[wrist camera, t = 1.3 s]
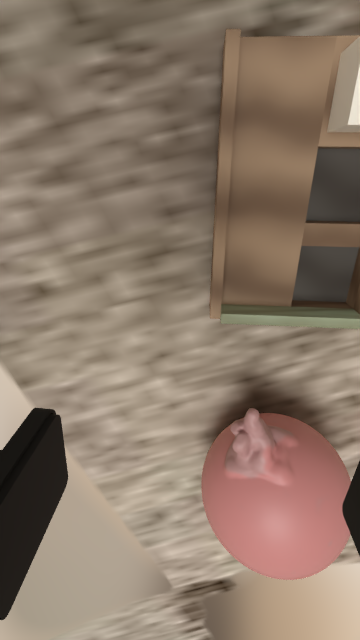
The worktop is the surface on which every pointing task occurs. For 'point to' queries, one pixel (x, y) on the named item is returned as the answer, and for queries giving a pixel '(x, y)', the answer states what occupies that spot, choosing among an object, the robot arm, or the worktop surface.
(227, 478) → the balloon
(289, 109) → the box
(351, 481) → the robot arm
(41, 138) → the worktop surface
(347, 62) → the block
